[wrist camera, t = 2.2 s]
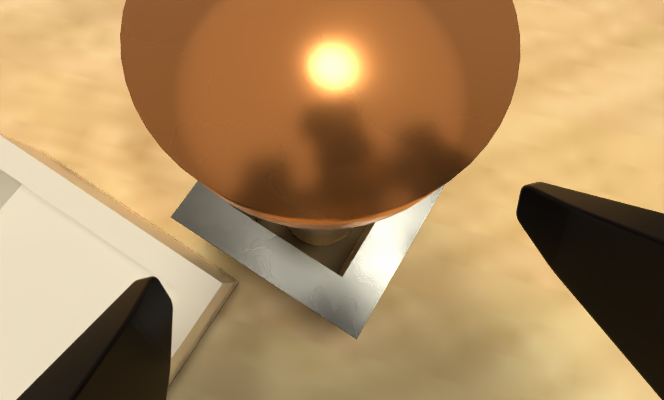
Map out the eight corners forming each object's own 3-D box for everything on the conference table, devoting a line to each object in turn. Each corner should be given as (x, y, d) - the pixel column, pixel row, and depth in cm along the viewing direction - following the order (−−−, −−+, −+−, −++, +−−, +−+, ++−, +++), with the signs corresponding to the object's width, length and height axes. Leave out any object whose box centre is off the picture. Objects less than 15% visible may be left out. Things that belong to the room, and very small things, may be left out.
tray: (65, 539, 15) (3, 604, 12) (-151, 371, 16) (-257, 393, 13) (238, 281, 17) (222, 283, 15) (43, 152, 19) (-10, 129, 16)
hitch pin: (337, 281, 18) (398, 308, 4) (248, 224, 18) (30, 73, 4) (390, 193, 19) (580, -21, 5) (305, 141, 19) (271, -182, 6)
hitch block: (346, 320, 17) (356, 339, 12) (211, 232, 18) (170, 217, 13) (424, 186, 19) (461, 155, 14) (298, 110, 20) (291, 56, 15)
